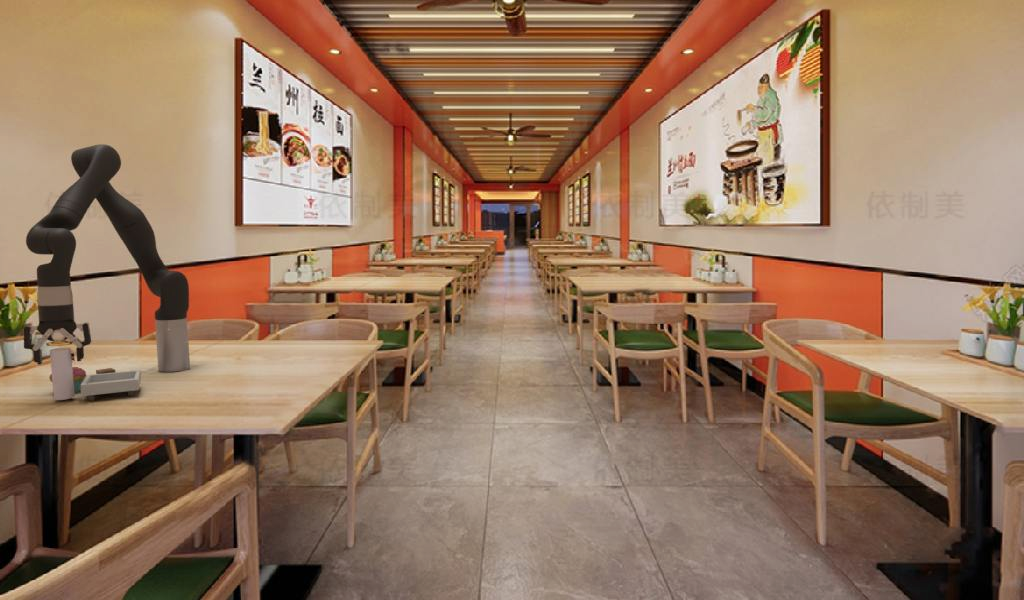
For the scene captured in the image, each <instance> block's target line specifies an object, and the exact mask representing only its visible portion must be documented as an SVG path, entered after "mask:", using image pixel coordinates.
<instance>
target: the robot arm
mask: <svg viewBox="0 0 1024 600" xmlns="http://www.w3.org/2000/svg"><path fill="white" fill-rule="evenodd" d="M70 158H71V159H70V161H71V164H72V167H73V169H74V171H75V172H76V174H77V175H78V177H79V178H78V179H77V180H76V181H75V182H74V183H72V185H70V186H69V187H68V188H67V189H65V191H64V192H62V193H61V195H60V196H59V197H58V198H57V200H56V201H55V203H54V205H53V206H52V207H51V210H50V212H48V214H46V215H45V216H43V217H42V218H41V219H40V220H38V221H37V222H36V223H35V224H34V225H33V226H32V227H31V228H30V229H29V231H28V232H27V235H26V238H25V243H26V247H27V249H28V250H29V251H30V252H31V253H33V254H36V255H45V256H46V255H51V256H52V259H51V261H50V262H48V263H43V264H40V265H38V266H37V268H36V282H37V293H36V294H37V295H36V296H37V297H36V298H37V299H36V303H37V312H38V314H37V315H38V325H31V324H30V325H25V327H24V326H23V327H24V328H23V348H24V349H25V350H31V351H32V352H33V361H34V363H37V366H38V365H42V364H43V354H42V353H43V352H42V349H41V348H42V346H43V345H44V344H45V343H47V342H46V341H48V342H51V341H55V340H53V339H52V337H51V334H52V333H53V331H54V330H58V329H59V331H60V332H61V333H62V334H63V335H64V336H65V338H64V340H70V341H71V342H72V343H73V344H74V345H75V347H76V348H75V349H76V350H75V351H76V361H77V362H81V361H82V360H83V359H84V358H85V349H84V347H85V346H89V345H91V343H92V338H91V336H92V335H91V329H90V323H89V322H84V323H78V324H77V323H76V321H75V309H74V295H73V290H72V285H71V284H72V283H71V267H72V263H73V259H74V257H75V256H74V255H75V253H76V249H77V240H76V237H75V235H74V233H73V232H72V231H74V230H76V229H77V228H78V227H79V226H80V224H81V222H82V221H83V219H84V217H85V215H86V214H87V212H88V210H89V208H90V207H91V205H92V203H93V202H94V201H95V199H96V201H97V202H98V204H99V205H100V207H101V208H102V210H103V211H104V213H105V214H106V216H107V217H108V219H109V221H110V224H112V226H113V228H114V230H115V231H116V233H117V235H118V236H119V238H120V239H121V241H122V243H123V244H124V245H125V247H126V248H127V251H128V252H129V254H130V255H131V257H132V258H133V260H134V262H135V263H136V265H137V267H138V269H139V270H140V273H141V274H142V277H143V279H144V281H145V283H146V286H147V288H148V290H149V291H150V292H151V294H153V295H155V296H156V297H159V298H160V301H159V302H160V303H159V304H160V305H159V307H158V309H156V310H155V311H154V323H155V324H154V325H155V338H156V340H155V341H156V355H157V371H159V372H161V373H172V372H173V373H174V372H183V371H187V370H190V369H191V364H190V360H191V359H190V344H189V331H188V311H189V310H190V309H189V308H190V288H189V287H190V285H189V280H188V278H187V277H186V275H185V274H184V273H182V272H181V271H178V270H169V269H168V267H167V265H165V263H164V261H163V260H162V258H161V256H160V255H159V252H158V249H157V248H158V247H157V240H156V235H155V232H154V229H153V227H152V225H151V224H150V222H149V220H148V218H147V217H146V215H145V213H144V212H143V210H142V209H140V208H139V207H138V206H137V205H136V204H134V202H131V201H130V200H128V199H127V198H126V197H125V196H122V194H121V193H119V192H118V191H117V190H116V189H115V188H114V187H113V185H112V184H111V182H110V181H111V180H112V179H113V178H114V177H115V176H116V175H117V174H118V172H119V171H120V170H121V167H122V159H121V156H120V154H119V153H118V151H117V149H115V148H114V147H113V146H111V145H108V144H104V143H101V144H95V145H91V146H85V147H82V148H79V149H75V150H74V151H72V153H71V156H70ZM77 329H79V331H80V332H82V333H83V338H84V339H83V340H80V338H79V337H78V336H77V335H76V334H75V333H74V332H75V331H76V330H77ZM36 331H37V332H38V333H39V334H41V337H40V338H39V340H38V341H37V342H36V343H35V344H33V343H32V342H33V341H32V340H33V339H32V338H33V337H32V336H33V334H35V332H36Z"/></svg>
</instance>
